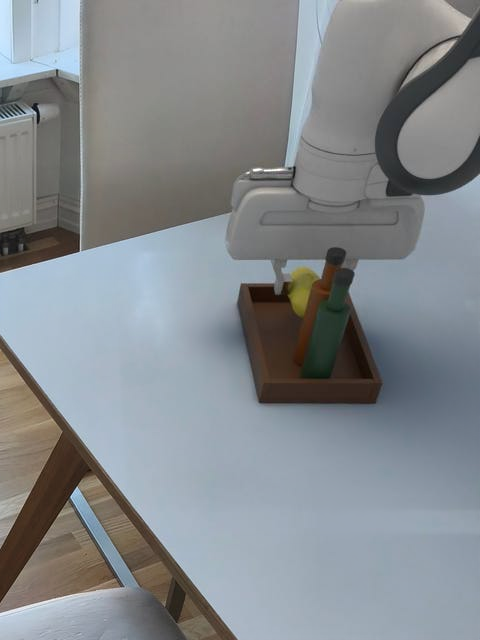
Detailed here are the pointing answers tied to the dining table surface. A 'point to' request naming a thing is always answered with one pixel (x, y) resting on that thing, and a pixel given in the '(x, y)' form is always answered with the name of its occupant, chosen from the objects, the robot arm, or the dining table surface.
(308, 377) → the green bottle
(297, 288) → the lemon
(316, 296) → the amber bottle
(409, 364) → the dining table surface
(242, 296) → the tray
